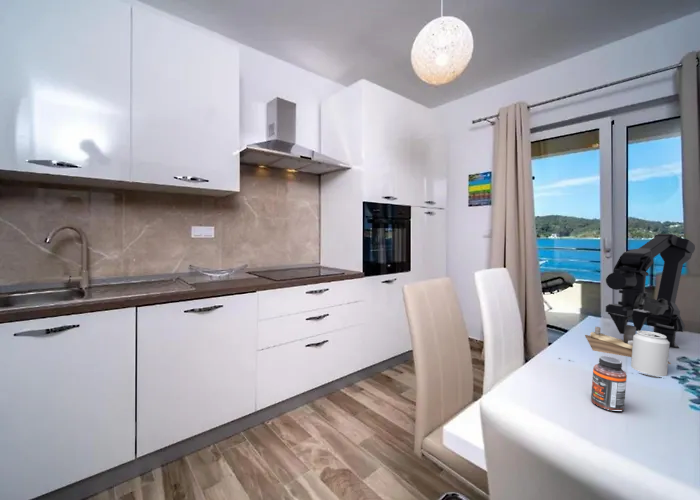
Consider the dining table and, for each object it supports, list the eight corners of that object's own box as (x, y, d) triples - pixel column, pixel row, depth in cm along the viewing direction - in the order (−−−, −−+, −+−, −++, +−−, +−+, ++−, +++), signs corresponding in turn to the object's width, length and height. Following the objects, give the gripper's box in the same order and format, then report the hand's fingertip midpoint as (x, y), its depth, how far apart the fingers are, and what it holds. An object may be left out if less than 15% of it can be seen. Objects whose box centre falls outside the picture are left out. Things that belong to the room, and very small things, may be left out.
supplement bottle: (584, 399, 73) (587, 354, 73) (606, 398, 74) (609, 353, 73) (607, 414, 67) (610, 364, 67) (631, 413, 68) (635, 364, 67)
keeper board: (584, 337, 119) (585, 325, 118) (651, 347, 109) (652, 334, 108) (592, 353, 102) (593, 339, 102) (672, 367, 92) (673, 352, 92)
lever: (588, 336, 116) (589, 317, 115) (595, 335, 117) (596, 316, 117) (644, 353, 99) (646, 331, 99) (652, 352, 101) (653, 330, 100)
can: (674, 381, 83) (677, 338, 83) (642, 378, 85) (646, 336, 84) (653, 369, 91) (656, 330, 90) (624, 366, 92) (627, 328, 92)
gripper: (647, 294, 93) (643, 343, 94) (680, 291, 100) (676, 337, 101) (606, 287, 104) (602, 332, 104) (638, 285, 110) (635, 327, 111)
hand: (629, 332), depth 105 cm, fingers open, 9 cm apart
